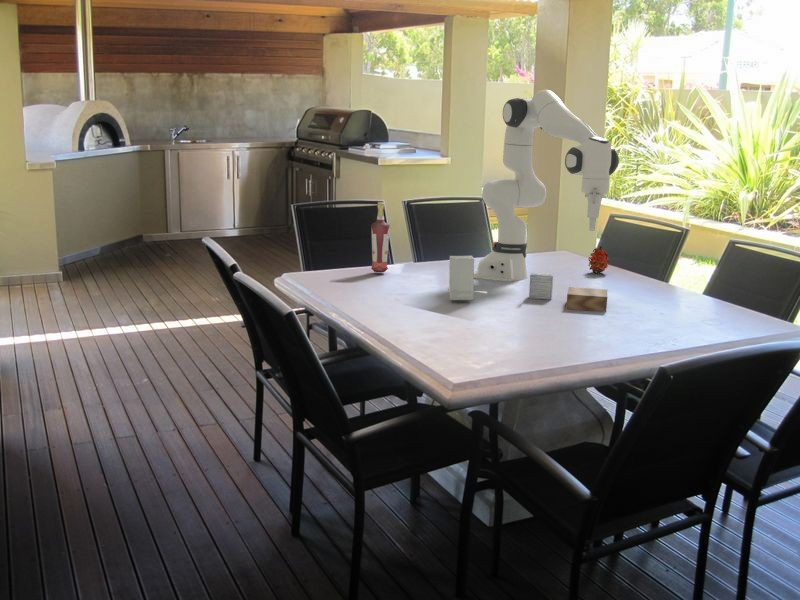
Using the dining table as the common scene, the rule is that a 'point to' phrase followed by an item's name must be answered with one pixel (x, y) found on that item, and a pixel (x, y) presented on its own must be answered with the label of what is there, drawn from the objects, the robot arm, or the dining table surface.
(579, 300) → the walnut block
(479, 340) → the dining table surface
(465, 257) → the skincare box
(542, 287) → the grey streaked block
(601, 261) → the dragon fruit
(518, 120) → the robot arm
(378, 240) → the liquor
